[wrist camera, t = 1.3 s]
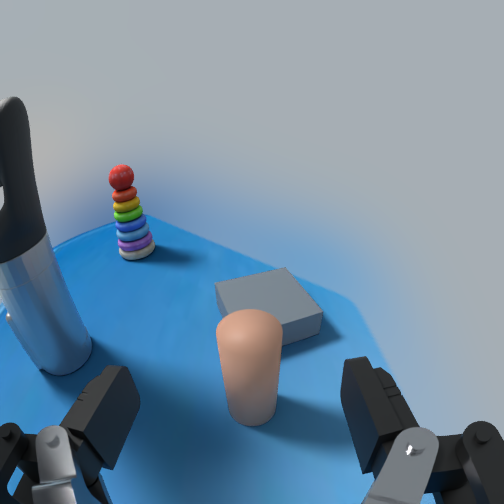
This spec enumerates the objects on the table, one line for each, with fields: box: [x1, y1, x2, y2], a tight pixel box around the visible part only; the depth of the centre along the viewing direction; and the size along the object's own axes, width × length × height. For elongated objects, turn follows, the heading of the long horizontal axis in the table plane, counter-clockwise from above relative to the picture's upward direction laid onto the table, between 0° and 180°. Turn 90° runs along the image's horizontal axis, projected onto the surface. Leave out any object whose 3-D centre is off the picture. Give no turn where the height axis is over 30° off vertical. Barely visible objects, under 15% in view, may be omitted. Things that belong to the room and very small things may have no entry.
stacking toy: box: [109, 165, 155, 260], centre depth 52 cm, size 8×8×19 cm
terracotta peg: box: [216, 309, 283, 426], centre depth 24 cm, size 5×5×12 cm
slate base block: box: [215, 268, 323, 346], centre depth 38 cm, size 11×11×4 cm
